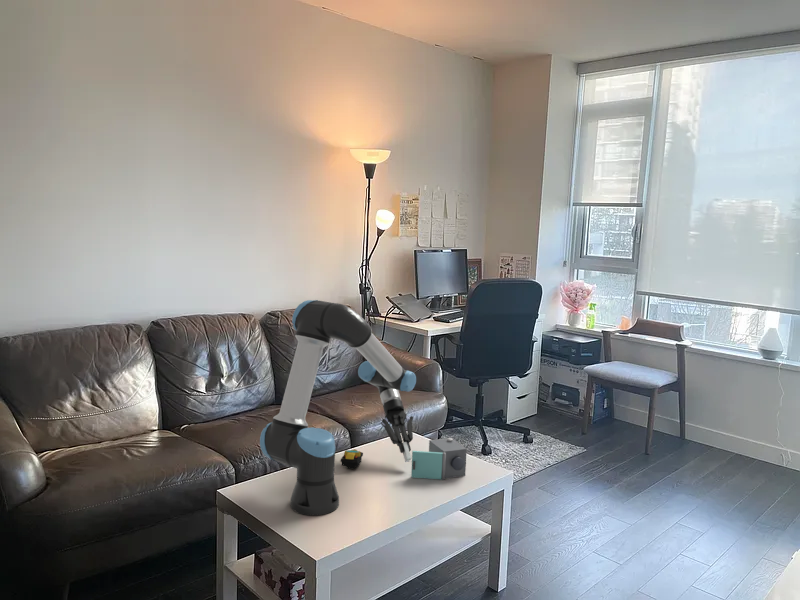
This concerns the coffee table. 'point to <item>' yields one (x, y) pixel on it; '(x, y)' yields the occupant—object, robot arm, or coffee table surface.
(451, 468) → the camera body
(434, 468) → the side door
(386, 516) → the coffee table surface
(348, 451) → the gadget
